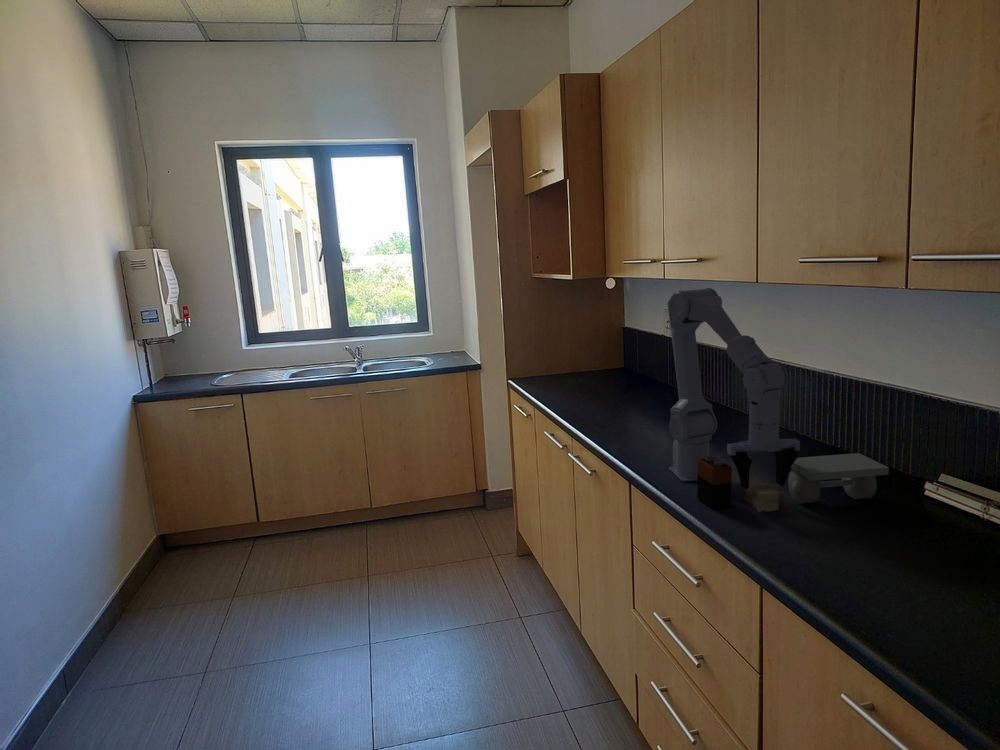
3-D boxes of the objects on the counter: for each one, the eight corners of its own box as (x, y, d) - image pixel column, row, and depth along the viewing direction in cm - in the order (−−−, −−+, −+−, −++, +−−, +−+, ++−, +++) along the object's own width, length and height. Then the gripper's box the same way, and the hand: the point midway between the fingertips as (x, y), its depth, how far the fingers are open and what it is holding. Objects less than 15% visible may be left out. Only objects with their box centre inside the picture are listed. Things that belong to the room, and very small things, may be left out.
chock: (745, 501, 136) (746, 483, 135) (763, 500, 136) (764, 482, 136) (759, 512, 130) (759, 494, 129) (778, 511, 130) (778, 492, 130)
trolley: (785, 496, 137) (786, 458, 136) (856, 490, 138) (858, 453, 137) (809, 514, 128) (811, 473, 126) (886, 507, 129) (888, 467, 127)
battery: (713, 510, 132) (713, 464, 130) (696, 499, 138) (696, 454, 136) (732, 508, 133) (732, 462, 131) (714, 496, 139) (715, 452, 137)
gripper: (738, 429, 125) (737, 495, 128) (809, 424, 126) (806, 489, 129) (723, 420, 132) (722, 482, 135) (790, 415, 133) (788, 477, 136)
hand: (762, 485), depth 132 cm, fingers open, 7 cm apart
